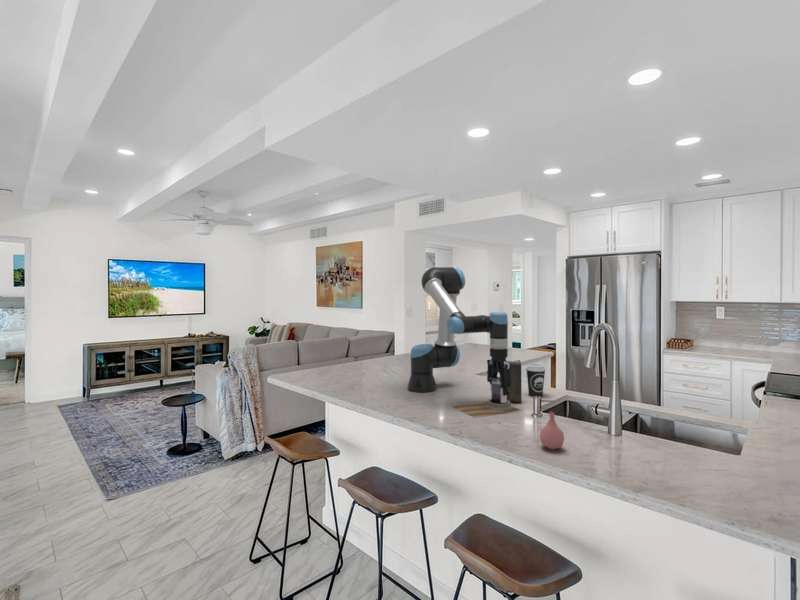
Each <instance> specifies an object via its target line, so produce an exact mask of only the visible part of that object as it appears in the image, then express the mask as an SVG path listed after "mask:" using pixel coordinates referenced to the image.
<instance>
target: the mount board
mask: <svg viewBox="0 0 800 600" xmlns="http://www.w3.org/2000/svg"><path fill="white" fill-rule="evenodd" d="M511 404H512V403H511V402H510V401H509V400H508V399H507V402H506V403H505V404H495V403H492V399H491V398H489V399H488V400H487V401H479V402H475V403H474V402H473V403H467V404H465V403H464V404H460V405H459V404H458V405H454V406H453V405H452V406H451V408H452V409H455V410H457V411H460V412H461V413H464V414H466V415H468V416H470V417H472V418H474V419H478V418H479V419H480V418H484V417H490V416H497V415H501V414H508V413H514V412H520V411H522V409H520V408H518V407H514V406H512V405H511Z"/></svg>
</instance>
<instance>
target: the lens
mask: <svg viewBox="0 0 800 600" xmlns="http://www.w3.org/2000/svg"><path fill="white" fill-rule="evenodd" d="M504 385H505V384H504ZM501 387H502V384H501V379H500V376H497V377H493V378H492V403H495V404H505V403H501Z"/></svg>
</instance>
